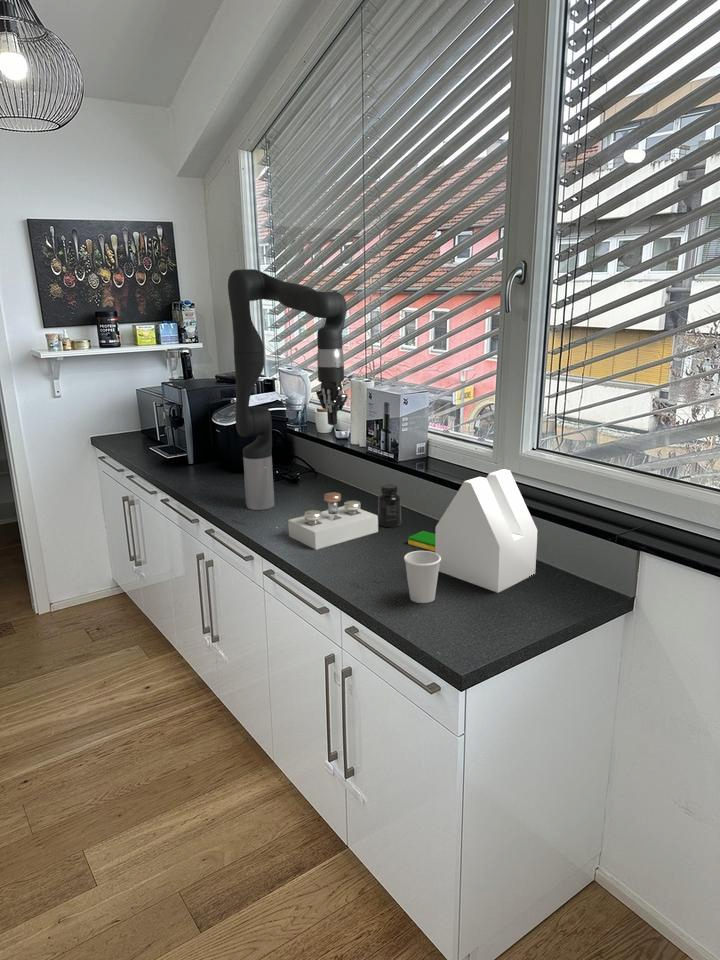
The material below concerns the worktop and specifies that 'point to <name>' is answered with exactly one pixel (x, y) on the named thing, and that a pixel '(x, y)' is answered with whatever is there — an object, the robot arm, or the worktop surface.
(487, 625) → the worktop surface
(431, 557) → the dixie cup
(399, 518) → the supplement bottle
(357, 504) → the knob
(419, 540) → the dish sponge
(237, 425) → the robot arm
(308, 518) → the knob
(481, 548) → the white house-shaped block
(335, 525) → the mount
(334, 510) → the knob centre
